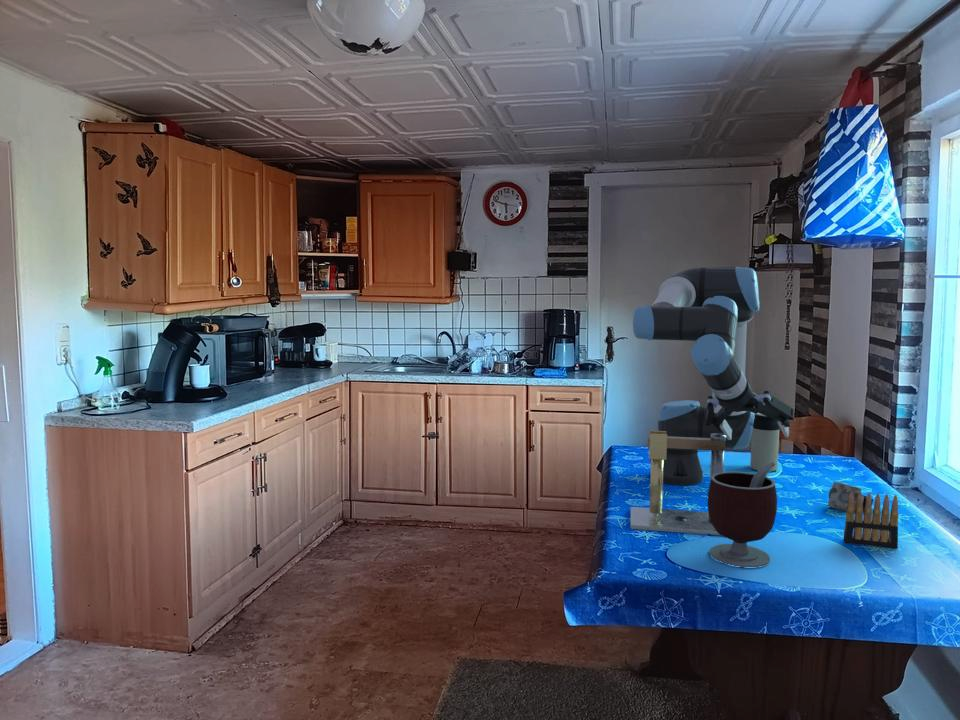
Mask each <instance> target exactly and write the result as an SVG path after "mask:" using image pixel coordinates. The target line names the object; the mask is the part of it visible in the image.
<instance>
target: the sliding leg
mask: <svg viewBox="0 0 960 720" xmlns="http://www.w3.org/2000/svg"><path fill="white" fill-rule="evenodd" d="M648 435H650V447H648V460H650V484H649V508H650V510H649V511H650V512H651V513H654V516H658V514H660V513H662V509H663V498H664V497H663V493H664V491H663V490H664V483H663V467H664V460H666V454H667V435H666V431H658V430H649V434H648Z"/></svg>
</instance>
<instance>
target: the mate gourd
mask: <svg viewBox="0 0 960 720" xmlns="http://www.w3.org/2000/svg"><path fill="white" fill-rule="evenodd" d="M773 466H775V463H773V462H772V463H770V464H768V465H766V466H765V467H763V468H761V469H760V470H759V471H757V470H756V472H755V473H753V472H752V473H751V472H745V471H744V472H743V471H724V472H721V473H716V474H714V475H712V476H711V482H710V481H709V486H708V490H707V512H708V513H709V519H710V522H711V524H712V525H713V527H714V528H715V530H716V531H717V532H718V533H719V534H720V535H719V536H721V535H722V537H724V538H727V539H729V540H731V541H732V543H721V544H716V545H714V546H712V547H710V549H709V556H710V555H711V556H712V557H713V558H714V559H716V560H718V561H721V562H723V563H726V564H730V565H734V566H740V567H759V566H764V565H767V564H768V563H769V562H771V556H770V555H769V554H768V553H767V552H766V551H764V550H762V549H759V548H757V547H753V546H750V545H748V543H750V542H756V541H757V542H758V541H760V540H762V539H764V538H765V537H766V536H767V535H768V534H769V533H771V531H772V530H773V527H774V525H775V521H776V517H777V512H778V496H777V495H778V494H777V488H776V482H775V480H774V479H772V478H770V477H768V473H770V472H769V470H770V469H771V468H772V467H773ZM769 564H770V563H769ZM769 564H768V565H769ZM768 565H767V566H768Z"/></svg>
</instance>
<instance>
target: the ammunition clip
mask: <svg viewBox="0 0 960 720" xmlns="http://www.w3.org/2000/svg"><path fill="white" fill-rule="evenodd" d="M862 495H863V493H862V491H861V492H860V493H859V494H858V498H857V504H856V509H855V513H854V495H853V492H852V491H851V492H850V494H849V498H848V506H847V510H846V511H845V523H844V531H843V532H844V533H843V539H842V541H843V543H844V544H850V545H859V546H868V547H876V548H888V549H894V550H895V549H896V550H897V549H898V548H899V547H898V546H899V538H898V537H899V500H898V496H897V494H894V497H893V498H892V501H891V508H890V497H889V495H888V493H886V494H885V496H884V499H883V502H882V510H881V497H880V494H879V492H878V493H876V495H875V498H874V501H873V502H874V503H873V504H872V499H873V498H872V495H871V492H868V493H867V498H866V504H865V507H863V497H862ZM871 498H872V499H871ZM872 506H873V507H872ZM872 508H873V509H872ZM890 509H891V510H890Z"/></svg>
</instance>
